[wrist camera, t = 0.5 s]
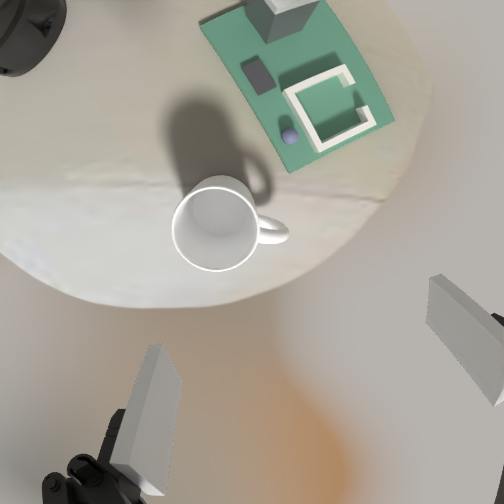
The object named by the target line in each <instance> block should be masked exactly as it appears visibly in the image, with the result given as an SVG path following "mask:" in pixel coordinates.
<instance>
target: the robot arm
mask: <svg viewBox="0 0 504 504" xmlns="http://www.w3.org/2000/svg"><path fill="white" fill-rule="evenodd" d="M65 17H66V5H65V2H64V0H0V75H3V76H9V77H16V76H20V75H23V74H25V73H27V72H28V71H30V70H31V69H33V68H34V67H35V66H36V65H37V64H38V63H39V62H40V61H41V60H42V59H43V58H44V57H45V56H46V55H47V54H48V52H49V51H50V50H51V48H52V47H53V45H54V44H55V42H56V40H57V38H58V37H59V35H60V32H61V30H62V28H63V25H64V21H65ZM426 323H427V325H428V326H429V327H430V328H431V329H432V330H433V331H434V332H435V333H436V335H437V336H438V337H439V338H440V340H441V341H442V342H443V343H444V344H445V345H446V347H447V348H448V349H449V350H450V352H451V353H452V354H453V355H454V356H455V358H456V359H457V360H458V361H459V363H460V364H461V365H462V366H463V368H465V370H466V371H467V373H468V374H469V375H470V376H471V378H472V379H473V380H474V382H475V383H476V384H477V385H478V387H479V388H480V389H481V391H482V392H483V393H484V395H485V396H486V397H487V399H488V400H489V401H490V403H491V404H492V406H493V407H495V406H496V405H498V404H499V403H501V402H502V401H503V400H504V317H502V316H500V315H498V314H495V313H493V314H491V315H490V314H489V313H488V312H486V311H485V310H484V309H483V308H482V307H481V306H479V305H478V304H477V303H476V302H475V301H474V300H473V299H471V298H470V297H469V296H468V295H467V294H466V293H464V292H463V291H462V290H461V289H459V288H458V287H457V286H456V285H455V284H453V283H452V282H451V281H450V280H448V279H447V278H446V277H445V276H443V275H442V274H439V275H436V276H434V277H431V278H430V280H429V295H428V306H427V316H426ZM182 388H183V382H182V380H181V378H180V376H179V374H178V372H177V371H176V369H175V367H174V365H173V363H172V361H171V359H170V357H169V355H168V353H167V351H166V349H165V347H164V345H163V344H156V345H149V346H148V348H147V351H146V354H145V356H144V359H143V362H142V364H141V367H140V370H139V373H138V376H137V378H136V381H135V384H134V387H133V390H132V393H131V396H130V399H129V402H128V405H127V408H126V409H118V410H117V411H116V413H115V414H114V415H113V416H112V418H111V420H110V423H109V426H108V430H107V432H106V437H104V441H103V444H102V446H101V449H100V453H99V456H98V459H97V461H96V460H95V459H94V458H93V457H92V456H90V455H88V454H79V455H76V456H75V457H74V458H72V459H71V461H70V462H69V464H68V467H67V474H68V476H70V477H71V478H65V477H64V476H63V475H62V474H60V473H58V472H52V473H50V474H48V475H47V476H46V477H45V478H44V480H43V482H42V497H43V504H146V502H145V501H144V500H143V498H142V497H140V492H141V490H143V491H144V492H145V493H147V494H148V495H158V496H165V495H166V489H167V481H168V474H169V468H170V461H171V454H172V448H173V441H174V435H175V428H176V423H177V416H178V411H179V404H180V399H181V393H182ZM494 504H504V466H503V471H502V476H501V480H500V484H499V488H498V492H497V496H496V499H495V503H494Z"/></svg>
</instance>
